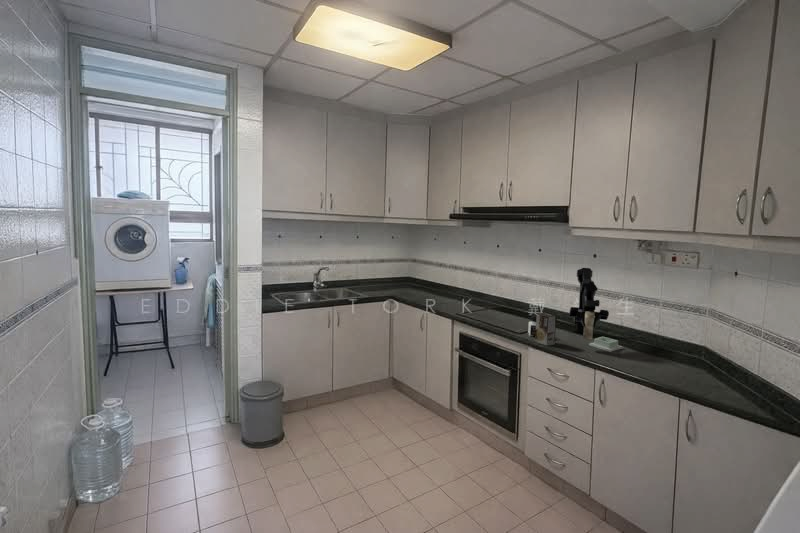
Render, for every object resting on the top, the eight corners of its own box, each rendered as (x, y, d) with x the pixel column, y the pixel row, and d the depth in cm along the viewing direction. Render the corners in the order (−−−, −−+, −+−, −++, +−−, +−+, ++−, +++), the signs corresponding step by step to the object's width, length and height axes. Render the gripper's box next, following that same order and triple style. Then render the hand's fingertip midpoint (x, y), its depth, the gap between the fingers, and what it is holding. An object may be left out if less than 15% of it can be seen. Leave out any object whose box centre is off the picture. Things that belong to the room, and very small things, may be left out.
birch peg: (581, 337, 212) (583, 312, 210) (586, 336, 215) (588, 311, 213) (589, 340, 209) (591, 314, 207) (593, 338, 211) (596, 313, 209)
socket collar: (589, 345, 220) (589, 338, 219) (601, 342, 226) (601, 335, 226) (610, 351, 210) (611, 344, 209) (622, 348, 216) (623, 341, 216)
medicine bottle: (529, 336, 233) (531, 316, 231) (527, 333, 240) (529, 313, 238) (542, 337, 232) (544, 317, 230) (540, 333, 239) (541, 314, 237)
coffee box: (555, 344, 219) (557, 316, 217) (546, 345, 217) (548, 317, 215) (542, 339, 228) (545, 312, 225) (534, 340, 225) (536, 313, 223)
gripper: (571, 292, 215) (571, 317, 206) (610, 295, 209) (611, 321, 200) (569, 303, 224) (569, 327, 215) (606, 306, 218) (607, 331, 209)
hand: (589, 326), depth 210 cm, fingers closed on birch peg, 4 cm apart
